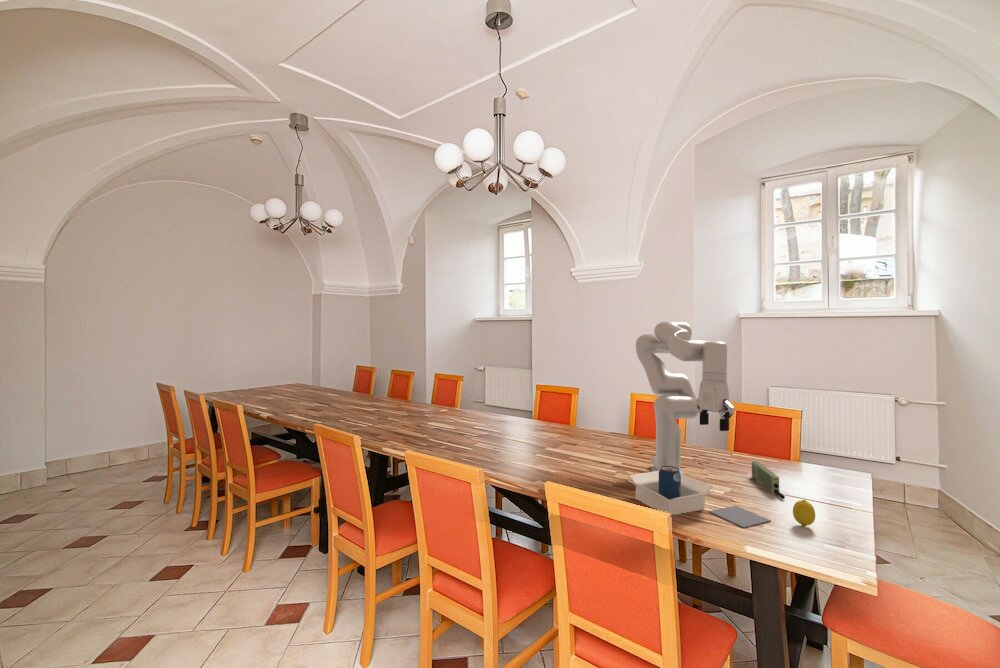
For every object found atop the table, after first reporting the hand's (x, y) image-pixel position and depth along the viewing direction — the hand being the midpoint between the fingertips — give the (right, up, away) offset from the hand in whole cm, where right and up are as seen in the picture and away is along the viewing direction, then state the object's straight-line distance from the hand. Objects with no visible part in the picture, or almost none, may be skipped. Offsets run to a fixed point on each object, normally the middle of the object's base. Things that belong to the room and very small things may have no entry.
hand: (713, 427), depth 149 cm
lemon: (+18, -26, -19) cm, 36 cm away
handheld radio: (+27, -26, +14) cm, 40 cm away
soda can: (-17, -25, -3) cm, 30 cm away
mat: (+2, -25, -13) cm, 28 cm away
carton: (-17, -25, -3) cm, 30 cm away
